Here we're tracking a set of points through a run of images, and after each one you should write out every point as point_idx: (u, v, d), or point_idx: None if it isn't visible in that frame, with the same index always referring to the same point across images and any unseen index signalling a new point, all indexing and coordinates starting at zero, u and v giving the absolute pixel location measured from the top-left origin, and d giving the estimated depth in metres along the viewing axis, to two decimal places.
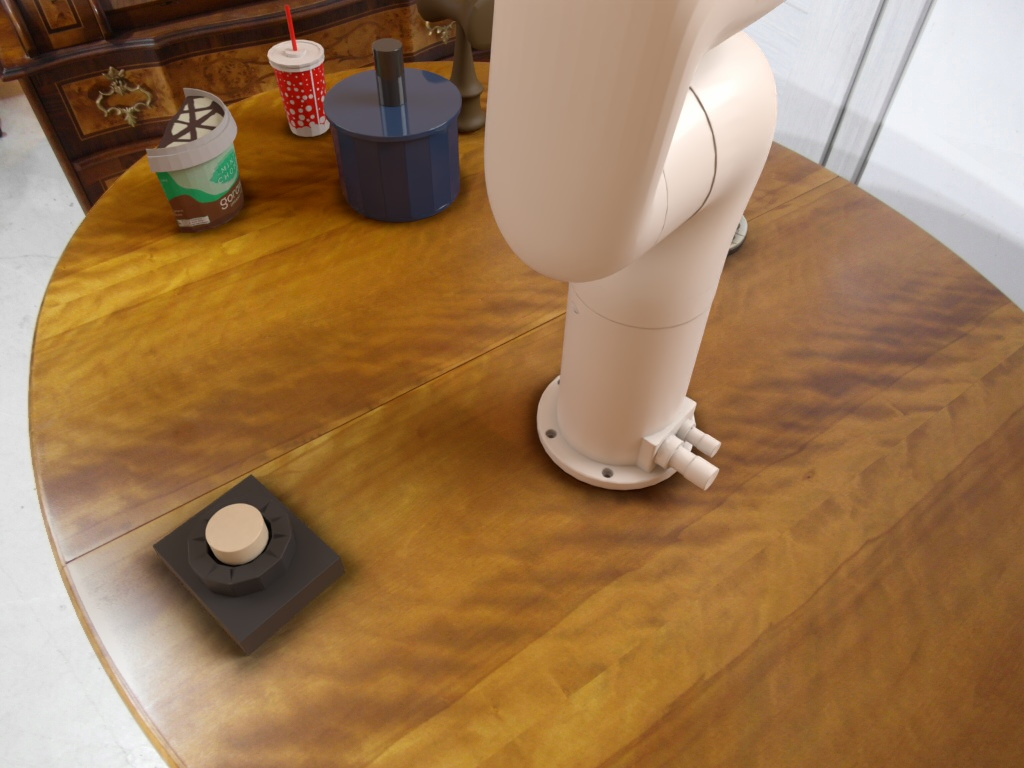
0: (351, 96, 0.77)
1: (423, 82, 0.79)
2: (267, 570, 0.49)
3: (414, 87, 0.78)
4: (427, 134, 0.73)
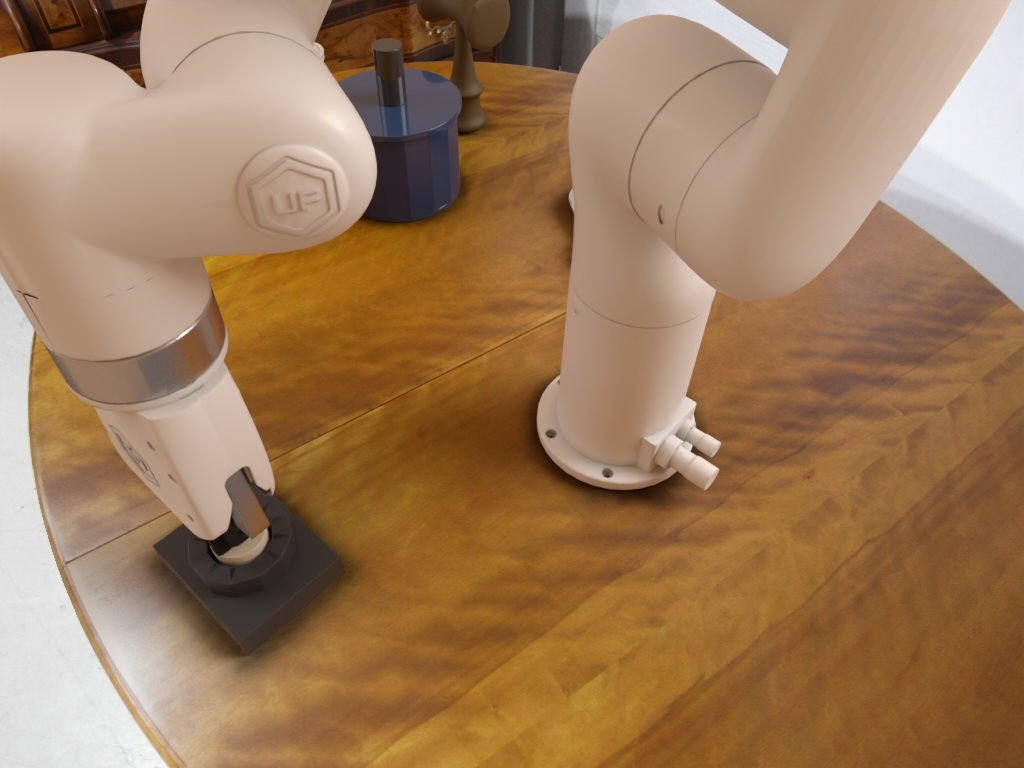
0: (351, 96, 0.77)
1: (423, 82, 0.79)
2: (267, 570, 0.49)
3: (414, 87, 0.78)
4: (427, 134, 0.73)
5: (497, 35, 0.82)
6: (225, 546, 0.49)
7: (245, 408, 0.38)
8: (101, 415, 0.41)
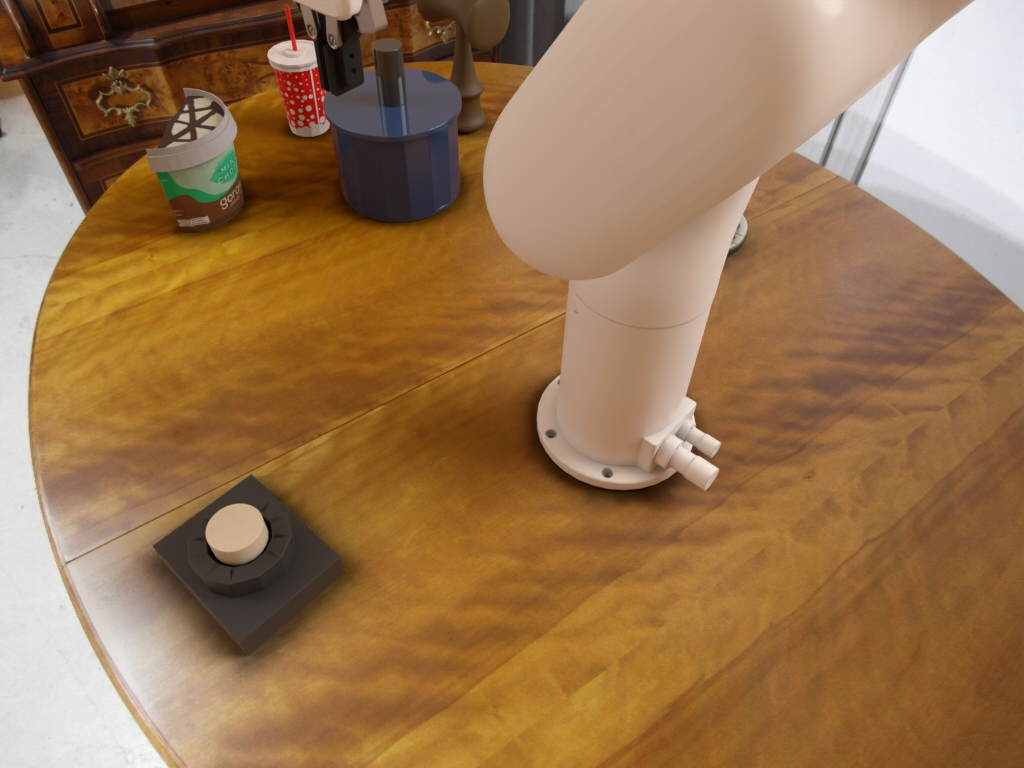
0: (351, 96, 0.77)
1: (423, 82, 0.79)
2: (267, 570, 0.49)
3: (414, 87, 0.78)
4: (427, 134, 0.73)
5: (497, 35, 0.82)
6: (340, 87, 0.61)
7: None
8: None
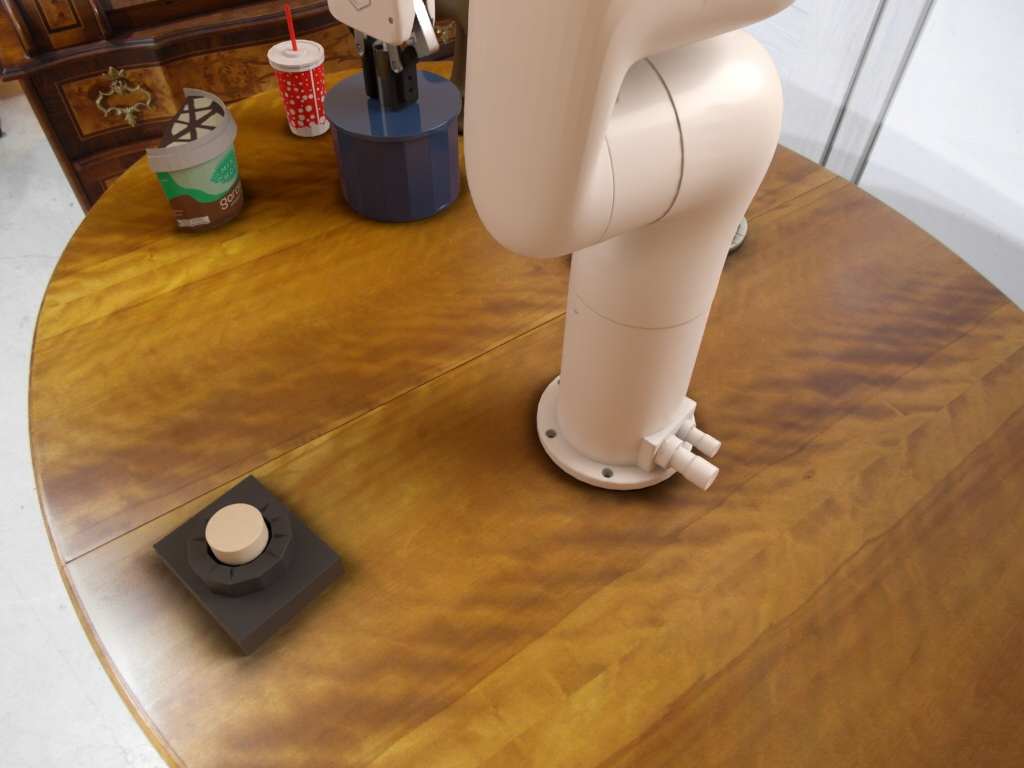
0: (351, 96, 0.77)
1: (423, 82, 0.79)
2: (267, 570, 0.49)
3: None
4: (427, 134, 0.73)
5: None
6: (399, 103, 0.75)
7: None
8: None
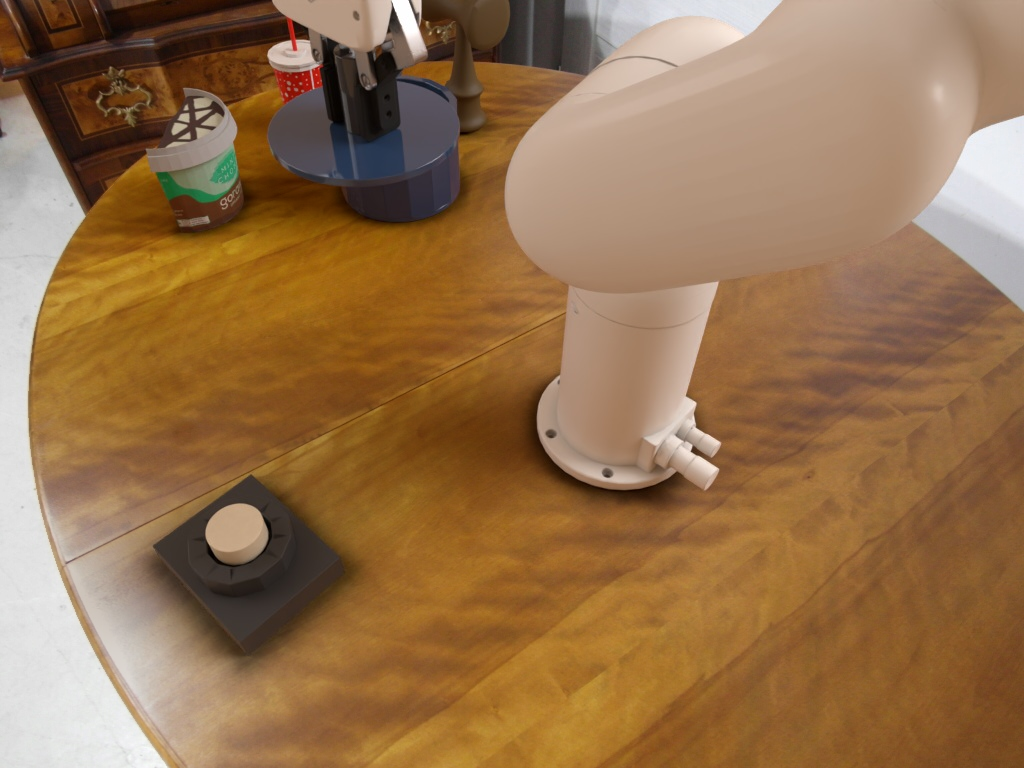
0: (307, 120, 0.56)
1: (407, 100, 0.58)
2: (267, 570, 0.49)
3: None
4: (411, 175, 0.52)
5: (497, 35, 0.82)
6: (373, 132, 0.54)
7: None
8: None
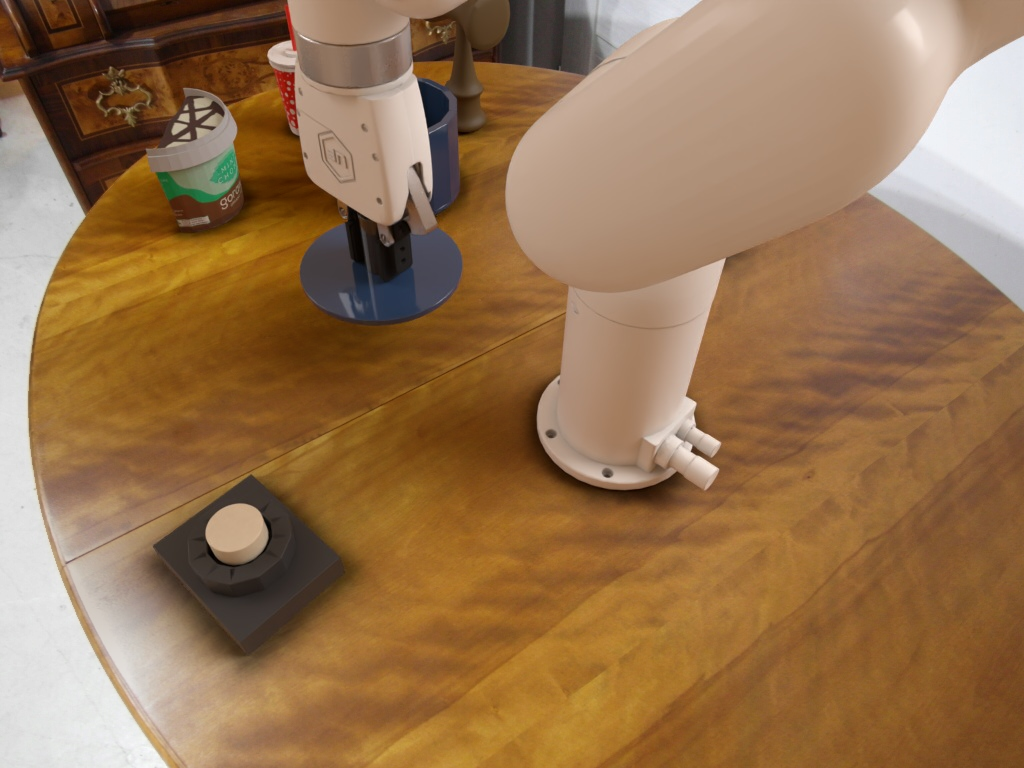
0: (333, 259, 0.65)
1: (418, 238, 0.67)
2: (267, 570, 0.49)
3: None
4: (422, 314, 0.62)
5: (497, 35, 0.82)
6: (389, 274, 0.63)
7: None
8: (310, 130, 0.56)
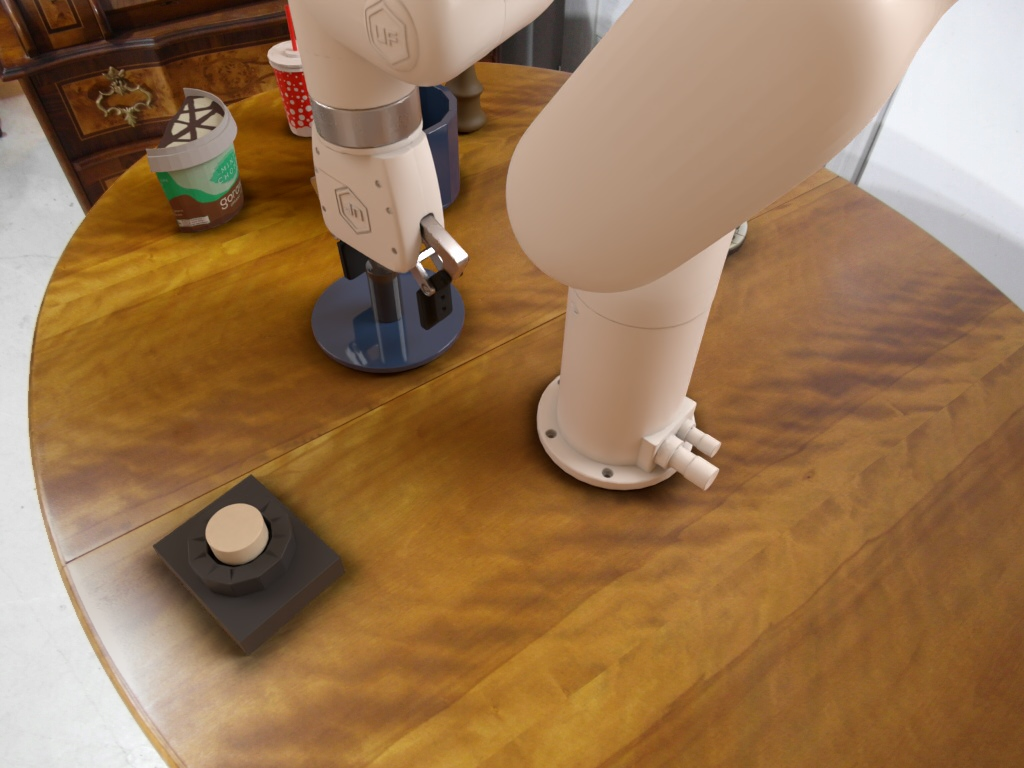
0: (342, 307, 0.69)
1: None
2: (267, 570, 0.49)
3: (412, 294, 0.71)
4: (426, 361, 0.66)
5: None
6: (430, 322, 0.64)
7: (434, 166, 0.56)
8: (327, 186, 0.59)
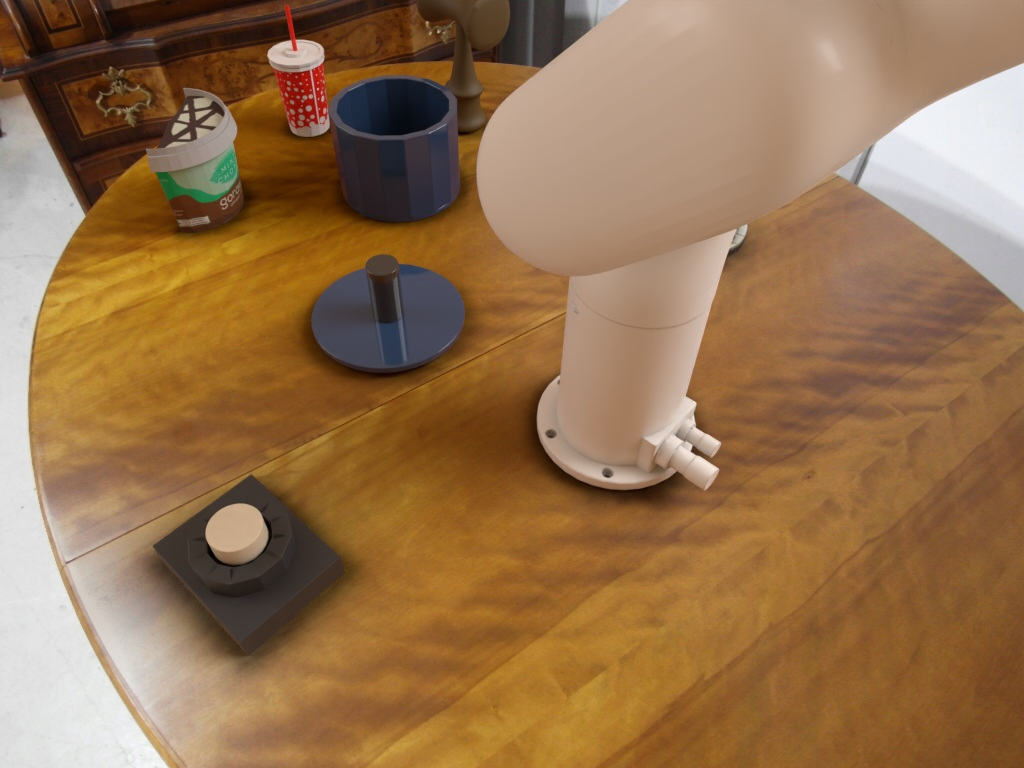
0: (342, 307, 0.69)
1: (422, 286, 0.72)
2: (267, 570, 0.49)
3: (412, 294, 0.71)
4: (426, 361, 0.66)
5: (497, 35, 0.82)
6: None
7: None
8: None
